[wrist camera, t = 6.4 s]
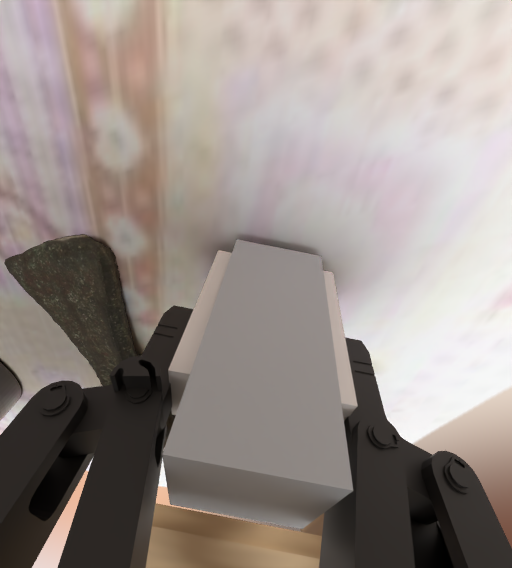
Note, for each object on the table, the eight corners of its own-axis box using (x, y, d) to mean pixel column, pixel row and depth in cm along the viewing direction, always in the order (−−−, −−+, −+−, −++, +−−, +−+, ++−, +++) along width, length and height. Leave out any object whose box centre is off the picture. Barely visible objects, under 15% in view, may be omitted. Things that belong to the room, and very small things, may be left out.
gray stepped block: (214, 411, 23) (179, 560, 16) (236, 239, 13) (162, 453, 6) (260, 420, 23) (244, 572, 16) (321, 256, 13) (352, 490, 6)
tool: (17, 238, 17) (-37, 261, 15) (115, 222, 15) (72, 246, 12) (150, 428, 28) (132, 461, 25) (219, 436, 25) (208, 472, 23)
